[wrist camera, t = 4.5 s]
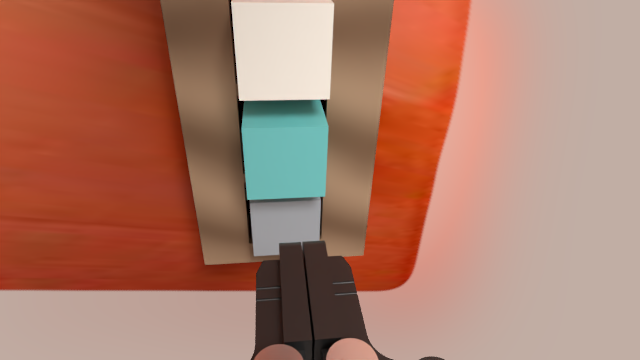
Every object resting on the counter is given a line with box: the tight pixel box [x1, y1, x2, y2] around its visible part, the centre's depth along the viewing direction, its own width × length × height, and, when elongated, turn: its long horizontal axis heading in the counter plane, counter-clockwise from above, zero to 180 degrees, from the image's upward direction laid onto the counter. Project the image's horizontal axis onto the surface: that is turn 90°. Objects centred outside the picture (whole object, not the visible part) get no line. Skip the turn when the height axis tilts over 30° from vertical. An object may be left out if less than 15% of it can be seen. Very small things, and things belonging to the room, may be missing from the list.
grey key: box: [250, 197, 321, 256], centre depth 29 cm, size 4×4×4 cm
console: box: [160, 0, 394, 265], centre depth 27 cm, size 21×12×5 cm, turn 178°
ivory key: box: [231, 0, 334, 101], centre depth 21 cm, size 4×4×4 cm
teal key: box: [241, 100, 329, 200], centre depth 24 cm, size 4×4×4 cm
